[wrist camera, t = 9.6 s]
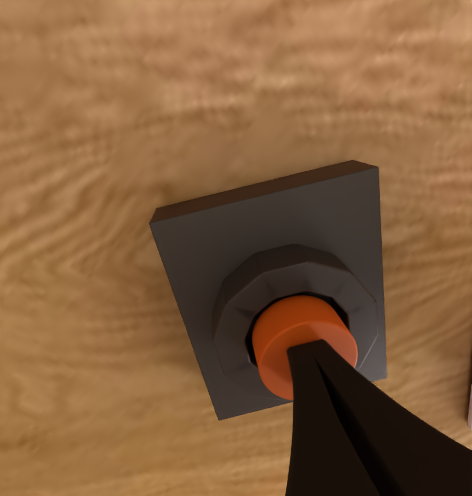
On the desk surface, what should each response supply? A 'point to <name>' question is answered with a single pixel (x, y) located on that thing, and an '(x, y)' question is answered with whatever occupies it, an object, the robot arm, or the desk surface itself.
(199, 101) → the desk surface
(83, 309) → the desk surface
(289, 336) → the button
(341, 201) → the button block
